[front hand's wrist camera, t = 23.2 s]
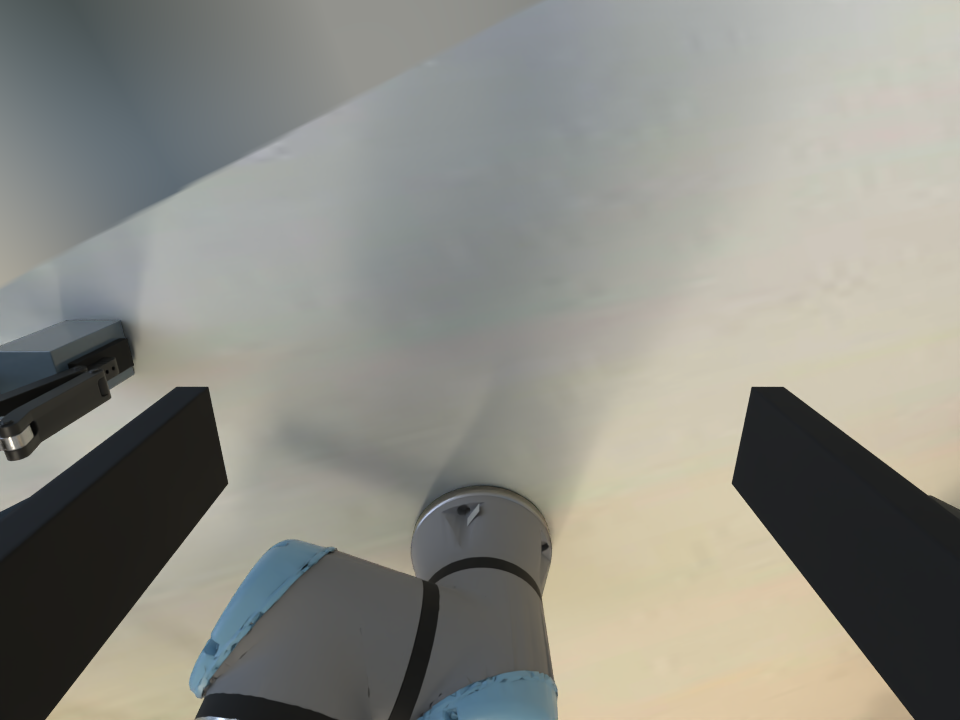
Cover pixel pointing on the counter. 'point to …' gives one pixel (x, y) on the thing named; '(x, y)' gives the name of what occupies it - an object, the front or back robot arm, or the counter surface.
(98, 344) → the brick
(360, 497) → the counter surface
